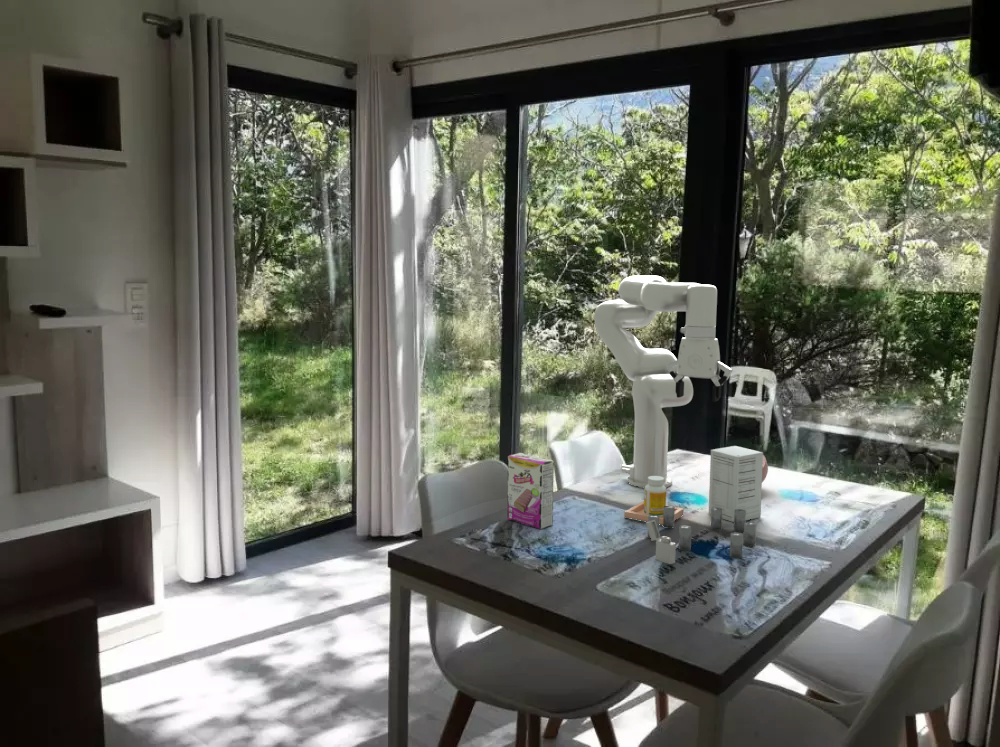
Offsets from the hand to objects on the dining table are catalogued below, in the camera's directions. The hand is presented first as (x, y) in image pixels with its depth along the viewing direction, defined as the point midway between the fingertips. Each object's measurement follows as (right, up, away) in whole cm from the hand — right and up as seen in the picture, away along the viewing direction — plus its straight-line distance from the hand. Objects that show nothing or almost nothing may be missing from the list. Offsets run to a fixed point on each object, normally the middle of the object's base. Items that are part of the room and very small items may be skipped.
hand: (697, 398), depth 213 cm
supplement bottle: (-12, -29, -7) cm, 32 cm away
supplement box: (+8, -30, -5) cm, 31 cm away
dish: (-13, -30, -7) cm, 33 cm away
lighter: (-17, -34, -35) cm, 52 cm away
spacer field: (-4, -32, -22) cm, 39 cm away
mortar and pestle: (+18, -26, +19) cm, 37 cm away
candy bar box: (-44, -30, -12) cm, 55 cm away
